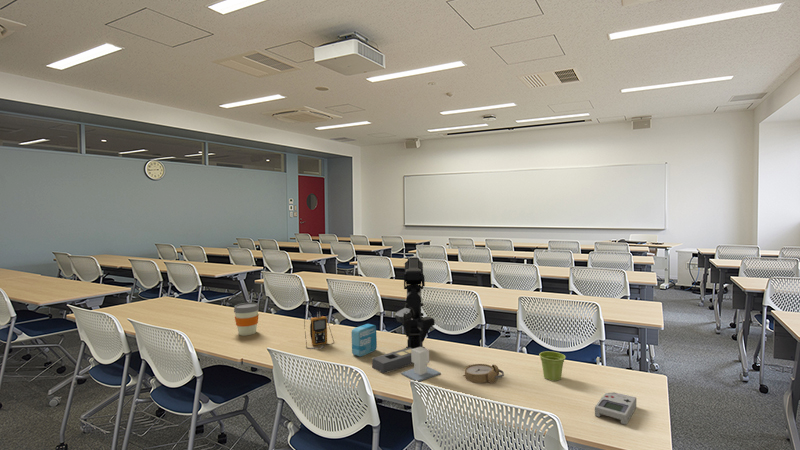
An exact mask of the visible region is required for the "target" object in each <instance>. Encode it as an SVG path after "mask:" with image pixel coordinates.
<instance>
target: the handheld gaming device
mask: <svg viewBox="0 0 800 450" xmlns="http://www.w3.org/2000/svg"><path fill="white" fill-rule="evenodd" d="M636 408H637V397H636V396H633V395H628V394H623V393H618V392H615V391H614V392H605V393H604V395H603V396H602V397H601V398H600V399H599V400H598V401H597V403H596V405H595V406H594V416H595V417H599V418H601V416H602V415H603V416H606V417H610V418H612V419H616V420H620V423H621V425H625V426H626V425H627V424H628V423H629V421H630V419H631V417H632V415H633V414H634V411H635V410H636Z"/></svg>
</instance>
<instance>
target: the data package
mask: <svg viewBox="0 0 800 450" xmlns="http://www.w3.org/2000/svg"><path fill="white" fill-rule="evenodd" d="M350 333H351V353H352V355H354V356H357V357H364V356H366V355H368V354H370V353H373V352H375V351H376V350H377V347H378V346H377V345H378V344H377V342H378V341H377V326H376V324H371V323H365V324H363V325H360V326H359V325H358V326H357V327H354V328H353V329H351V332H350Z"/></svg>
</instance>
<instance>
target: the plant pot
mask: <svg viewBox="0 0 800 450" xmlns="http://www.w3.org/2000/svg"><path fill="white" fill-rule="evenodd" d="M538 355H539V358H540V361H541V366H542V373H543V377H544V379H545V380H549V381H552V382H557V381H560V380H561V379H562V373H563V368H564V363H565V360H566V355H565V354H563V353H560V352H558V351H557V352H556V351H542V352H540V353H539V354H538Z"/></svg>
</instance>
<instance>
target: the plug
mask: <svg viewBox="0 0 800 450" xmlns="http://www.w3.org/2000/svg"><path fill="white" fill-rule="evenodd" d="M423 347H424V346H423ZM423 347H418V348H414V349H411V362H413V363H414V364H413V369H414V373H417V374H419V375H422V374H425V373H427V367H428V363H430V350H429V349H428V348H426V347H425V348H423Z"/></svg>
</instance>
